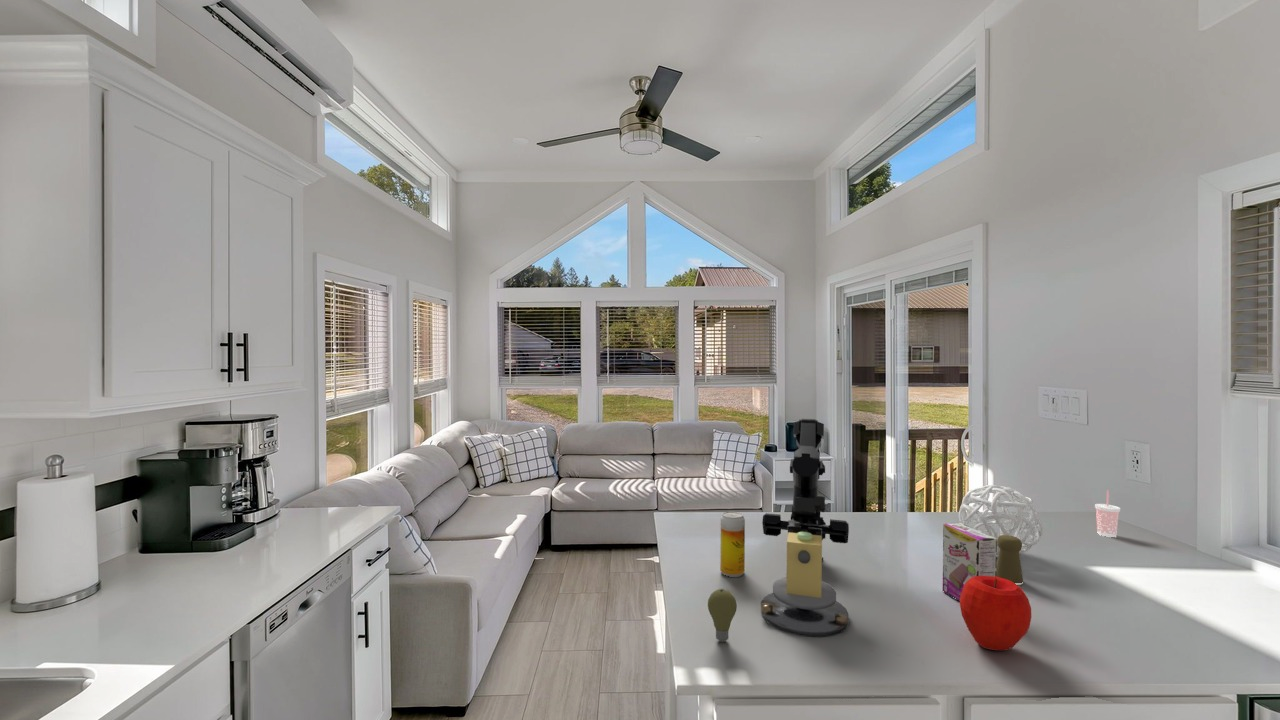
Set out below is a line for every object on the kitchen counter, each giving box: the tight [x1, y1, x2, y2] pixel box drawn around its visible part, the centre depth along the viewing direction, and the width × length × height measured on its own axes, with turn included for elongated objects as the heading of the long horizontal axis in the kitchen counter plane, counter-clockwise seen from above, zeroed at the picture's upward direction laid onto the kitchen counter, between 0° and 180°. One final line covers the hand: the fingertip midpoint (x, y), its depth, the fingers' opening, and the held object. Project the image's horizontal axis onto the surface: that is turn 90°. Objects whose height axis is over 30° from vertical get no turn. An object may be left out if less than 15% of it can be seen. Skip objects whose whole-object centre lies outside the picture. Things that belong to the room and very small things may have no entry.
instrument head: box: [772, 531, 837, 610], centre depth 119 cm, size 13×13×13 cm
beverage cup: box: [1094, 489, 1121, 538], centre depth 173 cm, size 6×6×14 cm
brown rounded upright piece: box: [996, 535, 1024, 583], centre depth 138 cm, size 6×6×11 cm
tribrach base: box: [760, 592, 850, 638], centre depth 120 cm, size 19×18×4 cm
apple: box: [958, 576, 1032, 651], centre depth 107 cm, size 12×12×13 cm
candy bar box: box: [942, 522, 998, 602], centre depth 126 cm, size 11×5×16 cm, turn 9°
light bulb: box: [707, 588, 738, 643], centre depth 109 cm, size 6×6×10 cm
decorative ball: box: [957, 484, 1044, 557], centre depth 155 cm, size 20×20×19 cm
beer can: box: [719, 511, 746, 578], centre depth 142 cm, size 6×6×15 cm
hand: (803, 563), depth 122 cm, fingers closed, pressing on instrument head
